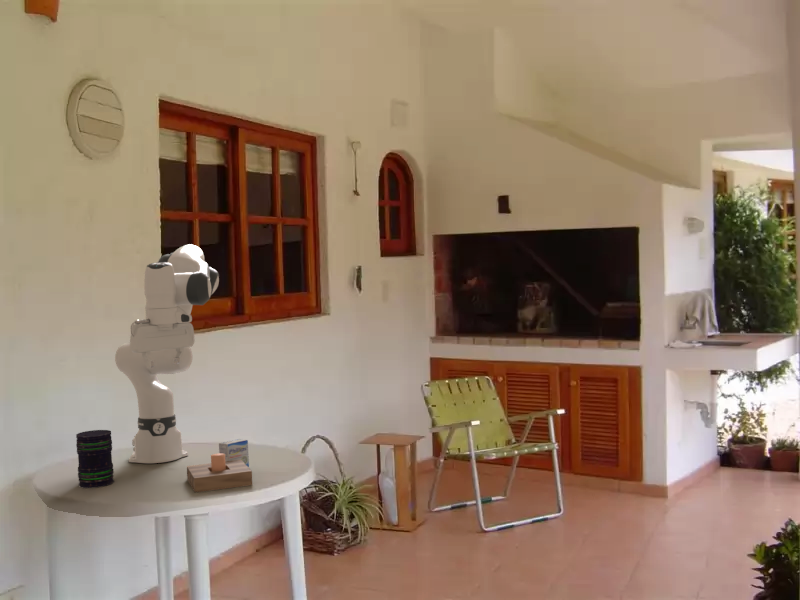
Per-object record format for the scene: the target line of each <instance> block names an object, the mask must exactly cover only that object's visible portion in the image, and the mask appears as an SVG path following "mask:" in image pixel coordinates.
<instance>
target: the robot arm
mask: <svg viewBox="0 0 800 600" xmlns="http://www.w3.org/2000/svg"><path fill="white" fill-rule="evenodd" d="M219 277H220V274H219V272H218V271H217V270H216V269H215V268H212V267H211V266H209V264H208V263H207V262H206V261H205V255H204V252H203V250H202V249H201V248H200V247H199V246H197V245H194V244H184V245H183V246H179V248H177V249H175V251H173V252H170V254H169V253H167V254H163V255H162V256H160V258H158V260H157V261H156V262H152V263H149V264H147V265H146V266H145V271H144V278H143V279H144V280H143V281H144V283H143V286H144V296H145V301H146V304H145V306H144V307H145V308H144V309H145V319H136V320H134V321H133V322H132V323H131V324H130V335H129V336H130V337H129V338H130V340H129V342H125V343H122V344H121V345H119V347H118V348H117V350H116V352H115V355H114V356H115V357H114V358H115V359H114V362H115V365H116V367H117V369H118V370H119V371H120V372H122V374H124V375H125V376H126V377H127V378H128V379H129V380H130V382H131V383H132V386H133V388H134V389H135V393H136V398H137V404H138V405H137V406H138V407H137V408H138V418H137V428H138V431H137V433H135V435H134V437H133V439H132V441H131V443H132V444H131V445H132V448H133V449H132V450H133V452H132V454H131V455H130V456H129V458H128V462H129V463H139V464H157V463H158V464H160V463H167V462H172V461H176V460H179V459H181V458H184V457H187V456H189V452H188V451H186V450H184V449H183V441H182V440H183V439H182V431H180V430H179V429H178V428H177V427H176V426H177V419H176V414H175V410H174V409H175V408H174V407H175V406H174V394H173V391H172V389H171V388H170V387H169V386H167V385H165V384H163V383H162V382H161V381H160V380H159V377H158V375H174V374H179V373H183V372H186V371H188V369H189V368H190V366H191V365H192V362H193V351H192V349H191V347H194V344H195V330H194V329H195V328H194V326H193V324H192V321H193V317H192V314H191V313H192V310H193V306H204V305H205V304H206V303H207V302H208V301H209V300H210V299H211V296H212V295H213V294H214V293H215V292H216V290H217V289H218V287H219V282H220V278H219Z"/></svg>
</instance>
